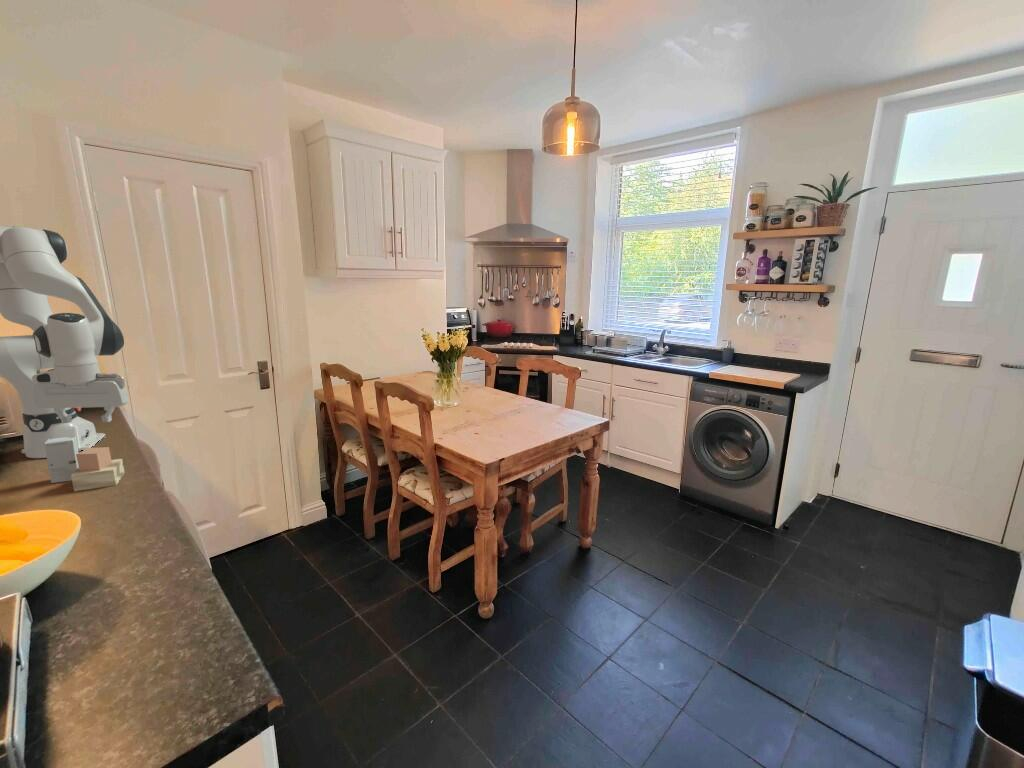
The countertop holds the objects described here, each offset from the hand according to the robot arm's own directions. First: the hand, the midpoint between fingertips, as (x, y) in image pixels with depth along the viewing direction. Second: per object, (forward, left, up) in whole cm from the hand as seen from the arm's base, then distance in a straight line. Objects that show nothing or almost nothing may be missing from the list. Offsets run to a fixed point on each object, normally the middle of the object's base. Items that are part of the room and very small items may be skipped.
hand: (87, 421), depth 126 cm
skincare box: (-4, -10, -18) cm, 21 cm away
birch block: (0, 0, -19) cm, 19 cm away
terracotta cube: (0, 0, -14) cm, 14 cm away
